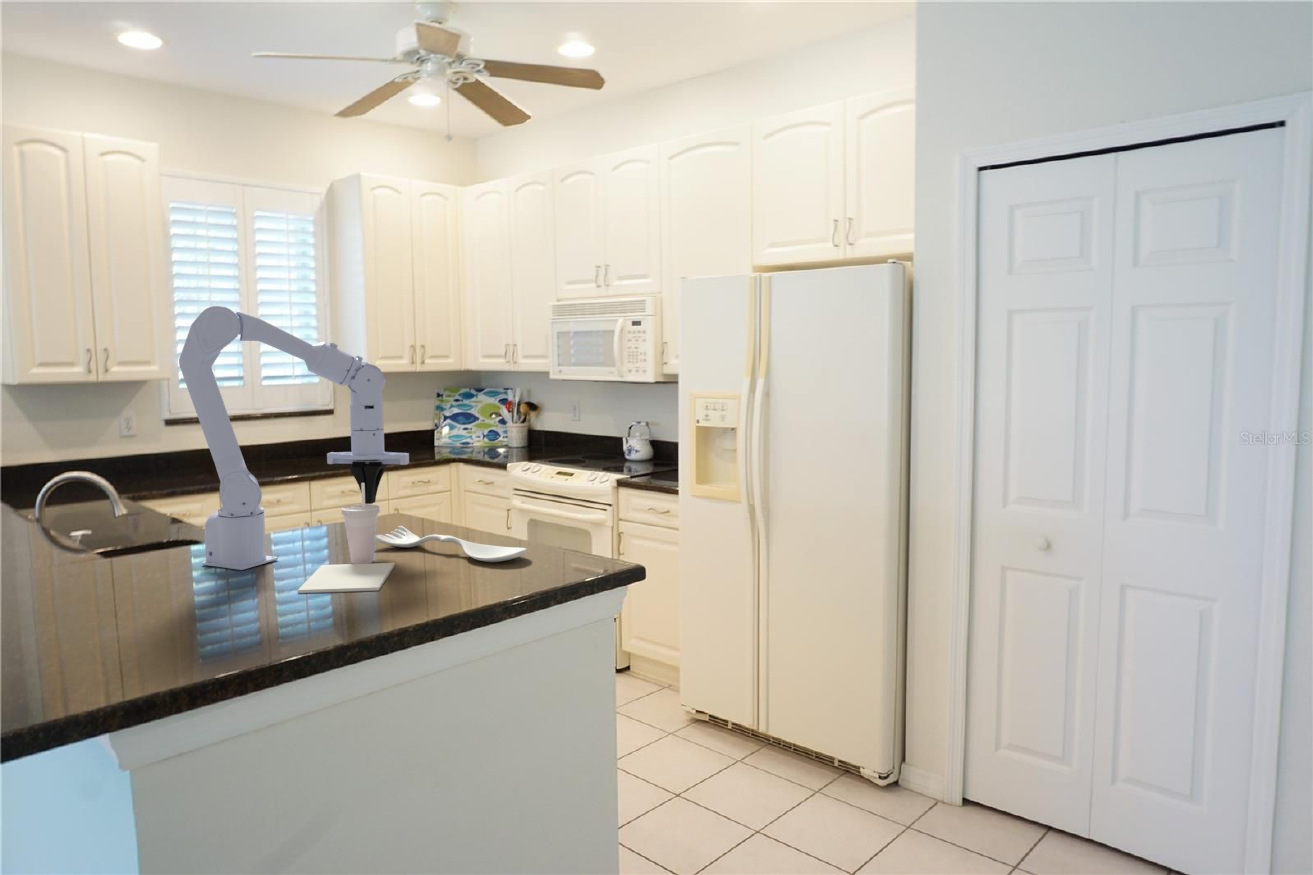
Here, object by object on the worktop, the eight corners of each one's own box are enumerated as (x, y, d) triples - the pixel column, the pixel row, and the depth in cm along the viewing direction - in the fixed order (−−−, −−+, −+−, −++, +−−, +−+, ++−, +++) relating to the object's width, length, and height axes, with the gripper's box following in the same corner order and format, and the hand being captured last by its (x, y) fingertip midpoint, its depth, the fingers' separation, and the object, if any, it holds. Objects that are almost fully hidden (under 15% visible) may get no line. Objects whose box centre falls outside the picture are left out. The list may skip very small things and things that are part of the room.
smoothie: (374, 566, 147) (371, 486, 146) (337, 566, 148) (334, 485, 146) (386, 557, 154) (384, 480, 152) (350, 557, 154) (348, 479, 152)
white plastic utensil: (400, 540, 168) (399, 523, 168) (536, 559, 154) (536, 540, 154) (366, 550, 160) (365, 532, 160) (507, 571, 146) (506, 551, 146)
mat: (321, 567, 146) (321, 565, 146) (394, 565, 148) (394, 562, 148) (297, 593, 132) (297, 590, 132) (378, 590, 133) (378, 587, 133)
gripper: (318, 431, 153) (321, 506, 154) (399, 432, 152) (401, 507, 154) (335, 427, 160) (337, 499, 161) (412, 428, 159) (413, 500, 161)
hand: (369, 502), depth 158 cm, fingers closed
